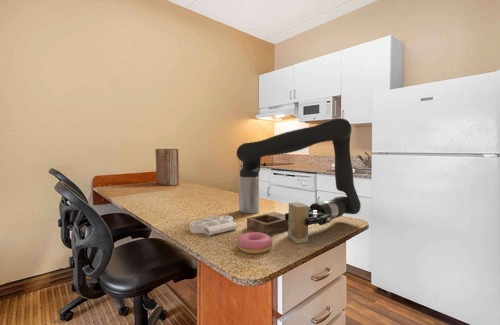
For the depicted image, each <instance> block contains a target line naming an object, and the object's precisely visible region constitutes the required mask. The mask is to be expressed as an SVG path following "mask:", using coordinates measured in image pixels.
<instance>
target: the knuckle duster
mask: <svg viewBox="0 0 500 325" xmlns="http://www.w3.org/2000/svg"><path fill="white" fill-rule="evenodd" d="M237 229H238V225H237V223H236V222H235V221H234V218H233V216H231V215H228V214H226V215H219V216H209V217H203V218H200V219H198V220H194V221H190V223H189V232H190V233H193V234H204V235H206V236H208V237H210V236H213V235H217V234H221V233H225V232H229V231H235V230H237Z"/></svg>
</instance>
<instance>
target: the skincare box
mask: <svg viewBox="0 0 500 325" xmlns="http://www.w3.org/2000/svg"><path fill="white" fill-rule="evenodd" d="M309 207H310V206H308V205H306V204H304V203H303V202H299V201H298V202H297V201H296V202H288V213H289V220H288V230H287V237H288V239H290V240H291V241H293V242H294V243H296V244H302V243H308V242H309V225H308V226H306V225H305V219H306V218H308V215H309Z"/></svg>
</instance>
